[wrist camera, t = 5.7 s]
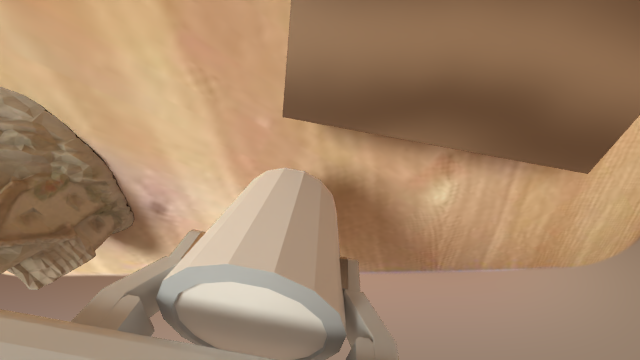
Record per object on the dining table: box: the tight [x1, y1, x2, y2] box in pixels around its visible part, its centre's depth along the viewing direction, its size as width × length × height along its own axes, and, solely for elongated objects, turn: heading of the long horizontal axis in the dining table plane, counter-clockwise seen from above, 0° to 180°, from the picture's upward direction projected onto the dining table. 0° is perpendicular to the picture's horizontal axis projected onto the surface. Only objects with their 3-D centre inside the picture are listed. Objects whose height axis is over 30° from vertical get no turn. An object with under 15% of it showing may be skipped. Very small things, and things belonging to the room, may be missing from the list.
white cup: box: [156, 168, 347, 360], centre depth 11 cm, size 7×7×7 cm
